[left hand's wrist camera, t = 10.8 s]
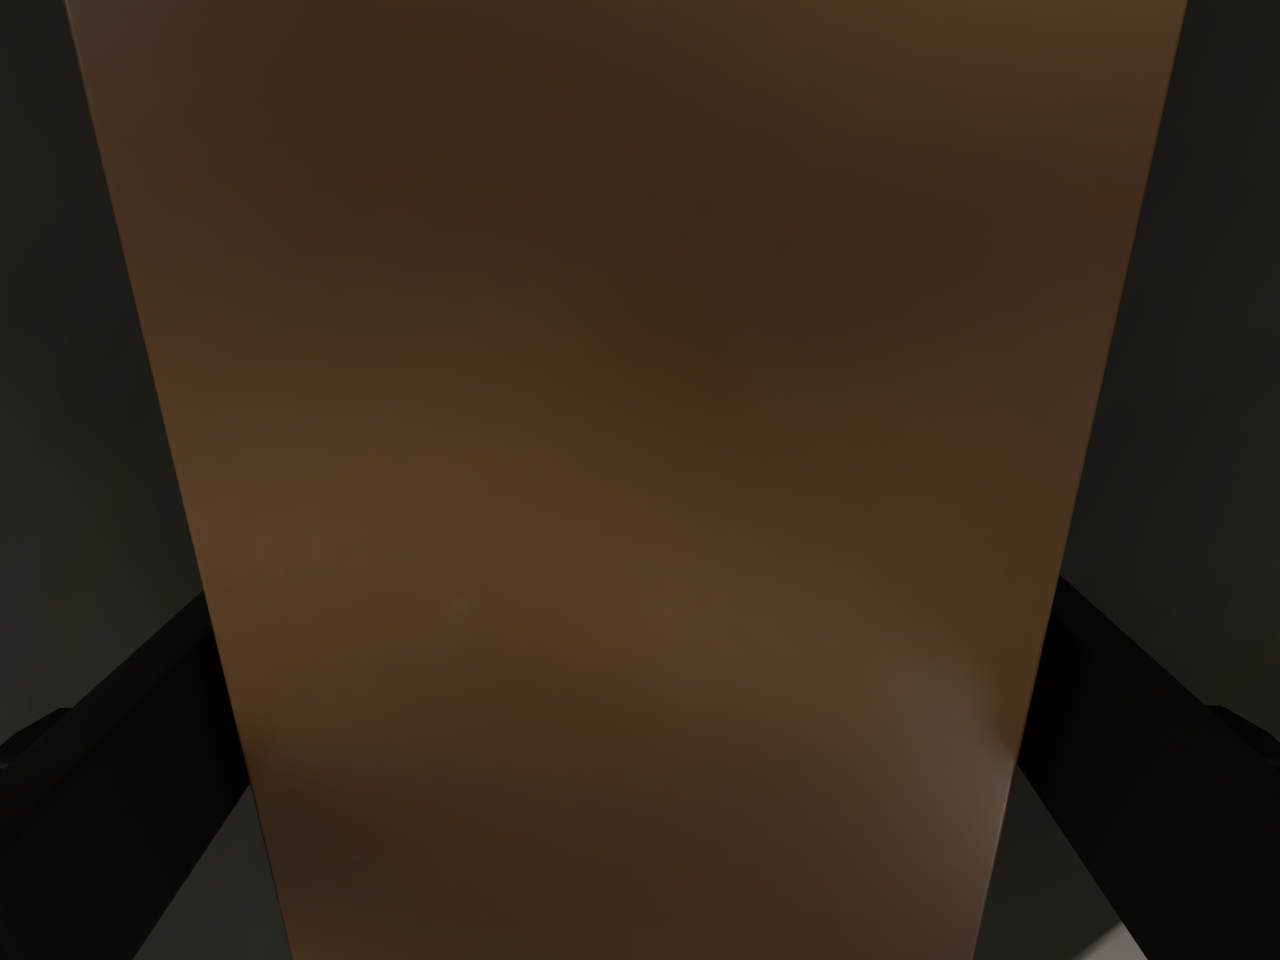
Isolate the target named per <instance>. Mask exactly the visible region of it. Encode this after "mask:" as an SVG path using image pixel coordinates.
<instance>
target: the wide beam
mask: <svg viewBox="0 0 1280 960" xmlns="http://www.w3.org/2000/svg"><path fill="white" fill-rule="evenodd" d="M1187 2H1188V0H63V3H64V7H65V11H66V15H67V19H68V24H69V28H70V32H71V36H72V40H73V44H74V49H75V53H76V57H77V61H78V65H79V70H80V74H81V78H82V82H83V86H84V90H85V95H86V99H87V103H88V107H89V111H90V116H91V120H92V124H93V128H94V132H95V137H96V141H97V145H98V149H99V153H100V157H101V162H102V166H103V170H104V174H105V178H106V183H107V187H108V191H109V195H110V199H111V203H112V208H113V212H114V216H115V220H116V224H117V229H118V233H119V237H120V241H121V245H122V250H123V254H124V258H125V262H126V266H127V270H128V275H129V279H130V283H131V287H132V291H133V296H134V300H135V304H136V308H137V312H138V316H139V321H140V325H141V329H142V333H143V337H144V342H145V346H146V350H147V354H148V358H149V362H150V367H151V371H152V375H153V379H154V383H155V388H156V392H157V396H158V400H159V404H160V409H161V413H162V417H163V421H164V425H165V429H166V434H167V438H168V442H169V446H170V450H171V455H172V459H173V463H174V467H175V471H176V475H177V480H178V484H179V488H180V492H181V496H182V501H183V505H184V509H185V513H186V517H187V521H188V526H189V530H190V534H191V538H192V542H193V547H194V551H195V555H196V559H197V563H198V568H199V572H200V576H201V580H202V584H203V588H204V593H205V597H206V601H207V605H208V609H209V614H210V618H211V622H212V626H213V630H214V634H215V639H216V643H217V647H218V651H219V655H220V660H221V664H222V668H223V672H224V676H225V681H226V685H227V689H228V693H229V697H230V701H231V706H232V710H233V714H234V718H235V722H236V727H237V731H238V735H239V739H240V743H241V747H242V752H243V756H244V760H245V764H246V768H247V773H248V777H249V781H250V785H251V789H252V793H253V798H254V802H255V806H256V810H257V814H258V819H259V823H260V827H261V831H262V835H263V840H264V844H265V848H266V852H267V856H268V860H269V865H270V869H271V873H272V877H273V881H274V886H275V890H276V894H277V898H278V902H279V906H280V911H281V915H282V919H283V923H284V927H285V932H286V936H287V940H288V944H289V948H290V952H291V957H292V960H973V957H974V952H975V948H976V943H977V939H978V934H979V930H980V925H981V921H982V916H983V912H984V908H985V903H986V899H987V894H988V890H989V885H990V881H991V876H992V872H993V867H994V863H995V858H996V854H997V850H998V845H999V841H1000V836H1001V832H1002V827H1003V823H1004V818H1005V814H1006V809H1007V805H1008V800H1009V796H1010V792H1011V787H1012V783H1013V778H1014V774H1015V769H1016V765H1017V760H1018V756H1019V751H1020V747H1021V742H1022V738H1023V734H1024V729H1025V725H1026V720H1027V716H1028V711H1029V707H1030V702H1031V698H1032V693H1033V689H1034V685H1035V680H1036V676H1037V671H1038V667H1039V662H1040V658H1041V653H1042V649H1043V644H1044V640H1045V635H1046V631H1047V627H1048V622H1049V618H1050V613H1051V609H1052V604H1053V600H1054V595H1055V591H1056V586H1057V582H1058V577H1059V573H1060V569H1061V564H1062V560H1063V555H1064V551H1065V546H1066V542H1067V537H1068V533H1069V528H1070V524H1071V519H1072V515H1073V511H1074V506H1075V502H1076V497H1077V493H1078V488H1079V484H1080V479H1081V475H1082V470H1083V466H1084V461H1085V457H1086V453H1087V448H1088V444H1089V439H1090V435H1091V430H1092V426H1093V421H1094V417H1095V412H1096V408H1097V404H1098V399H1099V395H1100V390H1101V386H1102V381H1103V377H1104V372H1105V368H1106V363H1107V359H1108V354H1109V350H1110V346H1111V341H1112V337H1113V332H1114V328H1115V323H1116V319H1117V314H1118V310H1119V305H1120V301H1121V296H1122V292H1123V288H1124V283H1125V279H1126V274H1127V270H1128V265H1129V261H1130V256H1131V252H1132V247H1133V243H1134V238H1135V234H1136V230H1137V225H1138V221H1139V216H1140V212H1141V207H1142V203H1143V198H1144V194H1145V189H1146V185H1147V180H1148V176H1149V172H1150V167H1151V163H1152V158H1153V154H1154V149H1155V145H1156V140H1157V136H1158V131H1159V127H1160V123H1161V118H1162V114H1163V109H1164V105H1165V100H1166V96H1167V91H1168V87H1169V82H1170V78H1171V73H1172V69H1173V65H1174V60H1175V56H1176V51H1177V47H1178V42H1179V38H1180V33H1181V29H1182V24H1183V20H1184V15H1185V11H1186V7H1187Z"/></svg>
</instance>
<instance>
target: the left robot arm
mask: <svg viewBox="0 0 1280 960" xmlns="http://www.w3.org/2000/svg"><path fill="white" fill-rule="evenodd" d="M1017 764H1018V766H1019V767H1020V769H1021V770H1022V772H1023V773H1024V775H1025V776H1026V778H1027V779H1028V781H1029V782H1030V784H1031V785H1032V787H1033V788H1034V790H1035V791H1036V793H1037V794H1038V796H1039V797H1040V799H1041V800H1042V802H1043V803H1044V805H1045V806H1046V808H1047V809H1048V811H1049V812H1050V814H1051V815H1052V817H1053V818H1054V820H1055V821H1056V823H1057V824H1058V826H1059V827H1060V829H1061V830H1062V832H1063V833H1064V835H1065V836H1066V838H1067V839H1068V841H1069V842H1070V844H1071V845H1072V847H1073V848H1074V850H1075V851H1076V853H1077V854H1078V856H1079V857H1080V859H1081V860H1082V862H1083V863H1084V865H1085V866H1086V868H1087V869H1088V871H1089V872H1090V874H1091V875H1092V877H1093V878H1094V880H1095V881H1096V883H1097V884H1098V886H1099V887H1100V889H1101V890H1102V892H1103V893H1104V895H1105V896H1106V898H1107V899H1108V901H1109V902H1110V904H1111V905H1112V907H1113V908H1114V910H1115V911H1116V913H1117V914H1118V916H1119V917H1120V919H1121V920H1122V922H1123V923H1124V925H1125V926H1126V928H1127V929H1128V931H1129V932H1130V934H1131V935H1132V937H1133V938H1134V940H1135V941H1136V943H1137V944H1138V946H1139V947H1140V949H1141V950H1142V952H1143V953H1144V955H1145V956H1146V958H1147V959H1148V960H1280V742H1278V741H1277V740H1276V739H1275V738H1274V737H1273V736H1271V735H1270V734H1269V733H1268V732H1267V731H1265V730H1263V729H1262V728H1260V727H1258V726H1256V725H1255V724H1253V723H1251V722H1249V721H1247V720H1246V719H1244V718H1242V717H1240V716H1239V715H1237V714H1235V713H1233V712H1231V711H1230V710H1228V709H1226V708H1224V707H1223V706H1205V705H1204V704H1203V703H1202V702H1201V701H1200V700H1198V699H1197V698H1196V697H1195V696H1194V695H1193V694H1192V693H1191V692H1190V691H1188V690H1187V689H1186V688H1185V687H1184V686H1183V685H1182V684H1181V683H1180V682H1178V681H1177V680H1176V679H1175V678H1174V677H1173V676H1172V675H1171V674H1170V673H1168V672H1167V671H1166V670H1165V669H1164V668H1163V667H1162V666H1161V665H1159V664H1158V663H1157V662H1156V661H1155V660H1154V659H1153V658H1152V657H1151V656H1149V655H1148V654H1147V653H1146V652H1145V651H1144V650H1143V649H1142V648H1141V647H1139V646H1138V645H1137V644H1136V643H1135V642H1134V641H1133V640H1132V639H1131V638H1129V637H1128V636H1127V635H1126V634H1125V633H1124V632H1123V631H1122V630H1120V629H1119V628H1118V627H1117V626H1116V625H1115V624H1114V623H1113V622H1112V621H1110V620H1109V619H1108V618H1107V617H1106V616H1105V615H1104V614H1103V613H1102V612H1100V611H1099V610H1098V609H1097V608H1096V607H1095V606H1094V605H1093V604H1092V603H1090V602H1089V601H1088V600H1087V599H1086V598H1085V597H1084V596H1083V595H1082V594H1080V593H1079V592H1078V591H1077V590H1076V589H1075V588H1074V587H1073V586H1071V585H1070V584H1069V583H1068V582H1067V581H1066V580H1065V579H1064V578H1063V577H1061V576H1060V575H1059V577H1058V582H1057V586H1056V591H1055V595H1054V600H1053V604H1052V609H1051V613H1050V618H1049V622H1048V627H1047V631H1046V635H1045V640H1044V644H1043V649H1042V653H1041V658H1040V662H1039V667H1038V671H1037V676H1036V680H1035V685H1034V689H1033V693H1032V698H1031V702H1030V707H1029V711H1028V716H1027V720H1026V725H1025V729H1024V734H1023V738H1022V742H1021V747H1020V751H1019V756H1018V760H1017ZM249 784H250V781H249V777H248V773H247V768H246V764H245V760H244V756H243V752H242V747H241V743H240V739H239V735H238V731H237V727H236V722H235V718H234V714H233V710H232V706H231V701H230V697H229V693H228V689H227V685H226V681H225V676H224V672H223V668H222V664H221V660H220V655H219V651H218V647H217V643H216V639H215V634H214V630H213V626H212V622H211V618H210V614H209V609H208V605H207V601H206V597H205V593H204V590H203V591H202V592H201V593H200V594H199V595H197V596H196V597H195V598H194V599H193V600H192V601H191V602H190V603H188V604H187V605H186V606H185V607H184V608H183V609H182V610H181V611H180V612H178V613H177V614H176V615H175V616H174V617H173V618H172V619H171V620H170V621H168V622H167V623H166V624H165V625H164V626H163V627H162V628H161V629H160V630H158V631H157V632H156V633H155V634H154V635H153V636H152V637H151V638H149V639H148V640H147V641H146V642H145V643H144V644H143V645H142V646H141V647H139V648H138V649H137V650H136V651H135V652H134V653H133V654H132V655H131V656H129V657H128V658H127V659H126V660H125V661H124V662H123V663H122V664H121V665H119V666H118V667H117V668H116V669H115V670H114V671H113V672H112V673H111V674H109V675H108V676H107V677H106V678H105V679H104V680H103V681H102V682H100V683H99V684H98V685H97V686H96V687H95V688H94V689H93V690H92V691H90V692H89V693H88V694H87V695H86V696H85V697H84V698H83V699H82V700H80V701H79V702H78V703H77V704H76V705H75V706H74V707H73V708H59V709H57V710H56V711H54V712H52V713H50V714H49V715H47V716H45V717H43V718H42V719H40V720H38V721H36V722H34V723H33V724H31V725H29V726H27V727H26V728H24V729H22V730H20V731H19V732H17V733H15V734H14V735H13V736H11V737H10V738H9V739H8V740H7V741H6V742H4V743H3V744H2V745H1V746H0V960H133V958H134V956H135V955H136V953H137V952H138V950H139V949H140V947H141V946H142V944H143V943H144V941H145V940H146V938H147V937H148V935H149V934H150V932H151V931H152V929H153V928H154V926H155V925H156V923H157V922H158V920H159V919H160V917H161V916H162V914H163V913H164V911H165V910H166V908H167V907H168V905H169V904H170V902H171V901H172V899H173V898H174V896H175V895H176V893H177V892H178V890H179V889H180V887H181V886H182V884H183V883H184V881H185V880H186V878H187V877H188V875H189V874H190V872H191V871H192V869H193V868H194V866H195V865H196V863H197V862H198V860H199V859H200V857H201V856H202V854H203V853H204V851H205V850H206V848H207V847H208V845H209V844H210V842H211V841H212V839H213V838H214V836H215V835H216V833H217V832H218V830H219V829H220V827H221V826H222V824H223V823H224V821H225V820H226V818H227V817H228V815H229V814H230V812H231V811H232V809H233V808H234V806H235V805H236V803H237V802H238V800H239V799H240V797H241V796H242V794H243V793H244V791H245V790H246V788H247V787H248V785H249Z"/></svg>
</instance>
